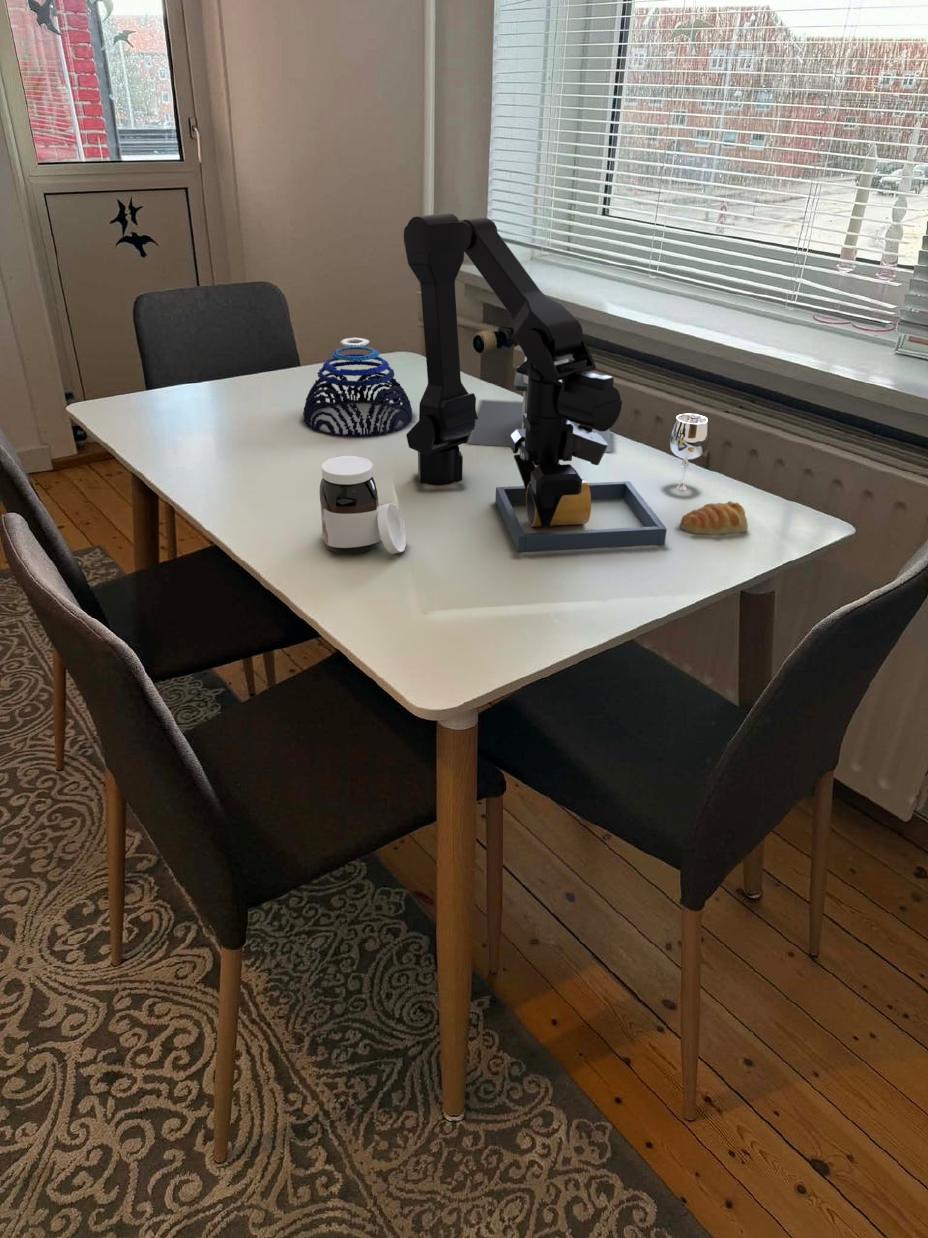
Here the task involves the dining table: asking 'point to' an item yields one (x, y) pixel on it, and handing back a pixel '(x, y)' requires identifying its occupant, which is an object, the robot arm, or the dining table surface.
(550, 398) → the robot arm
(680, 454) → the wineglass
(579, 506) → the tapered yellow cylinder
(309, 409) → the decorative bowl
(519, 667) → the dining table surface
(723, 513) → the pastry
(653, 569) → the dining table surface
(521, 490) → the blue tray
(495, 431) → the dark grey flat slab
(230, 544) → the dining table surface
